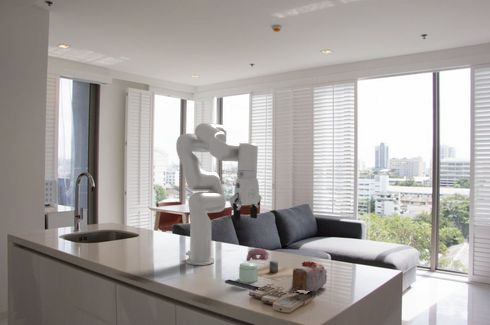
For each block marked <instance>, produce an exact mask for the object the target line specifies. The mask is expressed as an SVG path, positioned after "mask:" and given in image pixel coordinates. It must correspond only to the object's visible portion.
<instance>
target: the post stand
mask: <svg viewBox="0 0 490 325" xmlns="http://www.w3.org/2000/svg"><path fill="white" fill-rule="evenodd" d="M257 268H258V277H259V278H265V279H270V280H272V281H273V280H274V281H278V282H279V281H281V280H282V281H283V280H286V279H289V278H291V277H292V278H293V269H294V268H289V267H284V266H280V265H279V261H278V260H269V264H266V265H262V266H259V267H258V266H257Z"/></svg>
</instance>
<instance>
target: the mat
mask: <svg viewBox="0 0 490 325" xmlns="http://www.w3.org/2000/svg"><path fill="white" fill-rule="evenodd" d="M239 282H240V281H237V280H232V279H226V280H224V283H225V284H227V285H232V286H235V287H239V288H244V289H247V290H250V291H257V290H259V289H258V288H260V289H261V287H260V286H256V285H253V284H252V285H251V284H250V283H245V284H243V283H244V282H241V283H239ZM256 289H257V290H256Z"/></svg>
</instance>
